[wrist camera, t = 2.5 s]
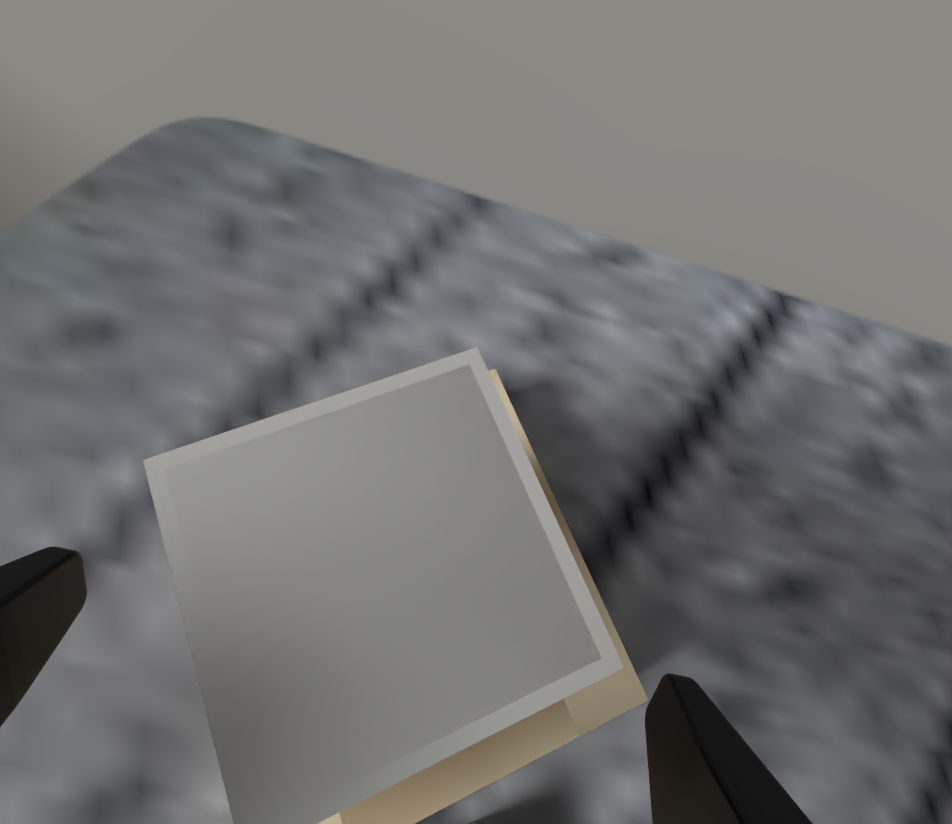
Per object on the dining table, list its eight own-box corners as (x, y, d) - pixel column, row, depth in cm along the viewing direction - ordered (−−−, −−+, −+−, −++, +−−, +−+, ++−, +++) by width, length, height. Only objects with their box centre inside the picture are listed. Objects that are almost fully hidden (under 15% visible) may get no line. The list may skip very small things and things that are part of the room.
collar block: (615, 688, 17) (648, 700, 14) (287, 857, 15) (262, 903, 12) (485, 398, 19) (494, 368, 17) (192, 504, 17) (156, 487, 15)
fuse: (496, 636, 17) (623, 668, 7) (353, 703, 16) (242, 861, 6) (441, 500, 18) (477, 347, 8) (306, 554, 17) (143, 460, 7)
